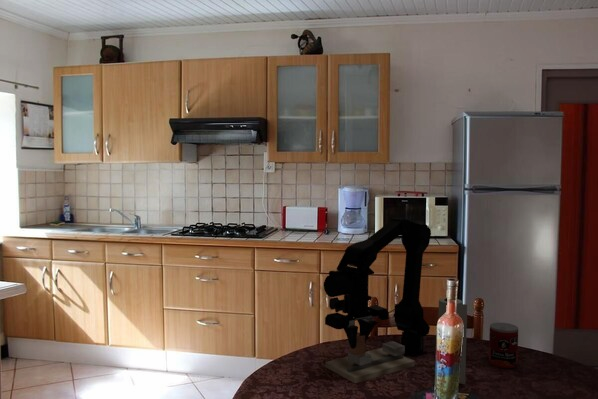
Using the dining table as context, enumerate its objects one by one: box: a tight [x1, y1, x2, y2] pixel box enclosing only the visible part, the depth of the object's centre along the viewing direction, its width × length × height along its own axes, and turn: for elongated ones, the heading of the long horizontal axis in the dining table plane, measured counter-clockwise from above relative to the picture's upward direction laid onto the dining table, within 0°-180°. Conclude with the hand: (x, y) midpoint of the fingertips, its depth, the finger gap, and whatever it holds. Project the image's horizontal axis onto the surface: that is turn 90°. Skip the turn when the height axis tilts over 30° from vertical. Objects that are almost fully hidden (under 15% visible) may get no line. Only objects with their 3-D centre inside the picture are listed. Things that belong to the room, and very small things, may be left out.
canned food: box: [488, 322, 519, 369], centre depth 146 cm, size 8×8×11 cm
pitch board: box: [324, 340, 416, 384], centre depth 143 cm, size 22×13×5 cm, turn 124°
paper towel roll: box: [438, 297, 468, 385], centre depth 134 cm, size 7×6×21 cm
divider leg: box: [347, 331, 371, 366], centre depth 139 cm, size 4×5×8 cm
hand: (357, 347), depth 140 cm, fingers closed on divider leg, 3 cm apart
